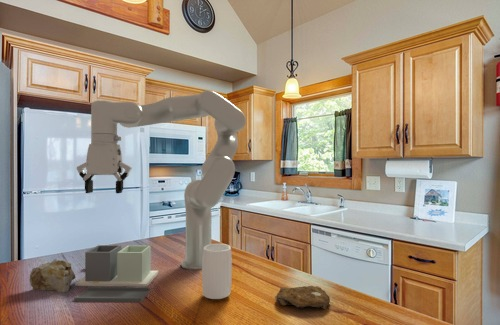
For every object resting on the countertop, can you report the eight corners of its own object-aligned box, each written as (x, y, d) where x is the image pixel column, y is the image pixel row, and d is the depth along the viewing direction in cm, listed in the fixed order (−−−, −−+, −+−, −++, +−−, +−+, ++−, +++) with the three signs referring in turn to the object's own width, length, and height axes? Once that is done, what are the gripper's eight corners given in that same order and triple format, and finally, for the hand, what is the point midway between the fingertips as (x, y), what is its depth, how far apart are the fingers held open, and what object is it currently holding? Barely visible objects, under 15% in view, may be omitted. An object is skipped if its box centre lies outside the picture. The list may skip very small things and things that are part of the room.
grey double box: (158, 274, 101) (158, 244, 101) (146, 287, 90) (147, 254, 90) (94, 273, 101) (94, 243, 101) (75, 287, 90) (75, 253, 90)
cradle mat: (151, 290, 88) (151, 286, 88) (141, 303, 80) (141, 299, 80) (87, 290, 88) (87, 285, 88) (71, 303, 80) (71, 298, 80)
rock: (84, 281, 91) (72, 252, 90) (67, 293, 85) (54, 262, 84) (54, 289, 94) (42, 261, 93) (35, 302, 88) (22, 271, 87)
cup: (198, 293, 86) (199, 245, 86) (226, 288, 90) (226, 242, 90) (206, 306, 78) (206, 253, 78) (235, 300, 82) (236, 249, 82)
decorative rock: (282, 319, 73) (336, 314, 77) (283, 303, 73) (337, 299, 77) (269, 296, 85) (316, 293, 88) (270, 282, 84) (317, 279, 88)
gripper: (135, 141, 99) (135, 191, 99) (84, 140, 99) (84, 191, 99) (126, 139, 91) (125, 194, 91) (70, 139, 91) (70, 194, 91)
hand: (104, 192), depth 95 cm, fingers open, 9 cm apart
